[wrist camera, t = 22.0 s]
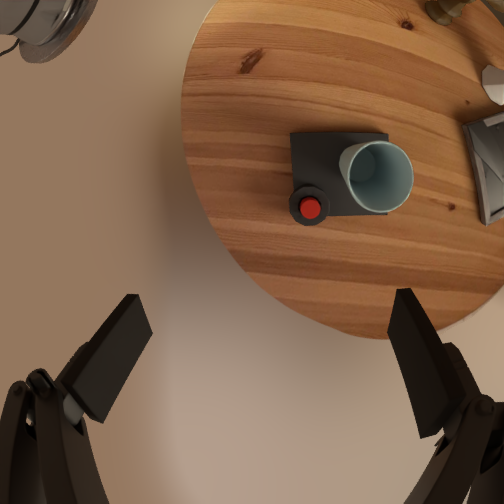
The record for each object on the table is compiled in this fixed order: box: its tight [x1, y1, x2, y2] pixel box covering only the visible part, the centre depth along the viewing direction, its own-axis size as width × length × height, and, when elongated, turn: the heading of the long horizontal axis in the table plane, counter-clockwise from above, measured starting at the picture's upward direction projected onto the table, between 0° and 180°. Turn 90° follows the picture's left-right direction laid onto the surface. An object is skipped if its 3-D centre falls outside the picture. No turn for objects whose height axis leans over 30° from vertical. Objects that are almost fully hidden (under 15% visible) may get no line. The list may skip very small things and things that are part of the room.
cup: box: [339, 140, 414, 213], centre depth 30 cm, size 8×8×10 cm
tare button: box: [300, 197, 320, 219], centre depth 36 cm, size 3×3×2 cm
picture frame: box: [461, 111, 504, 226], centre depth 30 cm, size 13×2×18 cm
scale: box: [289, 132, 389, 226], centre depth 35 cm, size 15×13×3 cm
